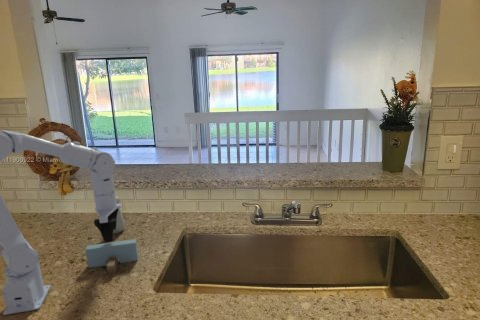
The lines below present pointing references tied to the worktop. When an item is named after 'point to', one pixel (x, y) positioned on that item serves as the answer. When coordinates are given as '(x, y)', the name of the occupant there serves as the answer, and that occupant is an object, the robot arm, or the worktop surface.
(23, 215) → the worktop surface
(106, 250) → the slate-blue slotted board
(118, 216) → the salt shaker
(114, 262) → the walnut slotted board
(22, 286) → the robot arm
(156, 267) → the worktop surface
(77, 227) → the worktop surface
